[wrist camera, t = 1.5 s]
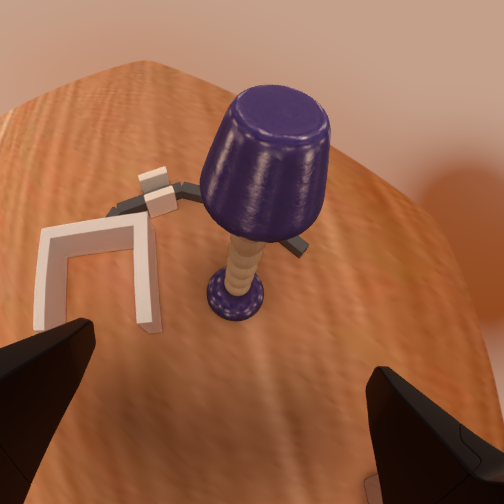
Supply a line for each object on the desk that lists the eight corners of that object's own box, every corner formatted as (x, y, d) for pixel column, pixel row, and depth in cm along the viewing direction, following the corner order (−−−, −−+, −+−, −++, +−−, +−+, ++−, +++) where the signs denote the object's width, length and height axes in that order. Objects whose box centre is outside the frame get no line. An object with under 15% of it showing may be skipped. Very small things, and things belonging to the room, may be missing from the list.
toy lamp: (246, 253, 24) (283, 56, 9) (284, 299, 23) (386, 132, 8) (195, 287, 23) (160, 97, 8) (233, 337, 21) (262, 203, 6)
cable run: (306, 259, 25) (309, 254, 24) (100, 238, 24) (96, 232, 23) (305, 201, 27) (307, 194, 26) (118, 184, 26) (115, 177, 25)
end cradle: (162, 332, 21) (152, 322, 18) (55, 339, 20) (33, 330, 16) (155, 234, 24) (147, 211, 21) (59, 248, 23) (41, 228, 20)
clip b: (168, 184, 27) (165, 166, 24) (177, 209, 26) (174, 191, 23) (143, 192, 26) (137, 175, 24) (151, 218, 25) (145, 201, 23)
